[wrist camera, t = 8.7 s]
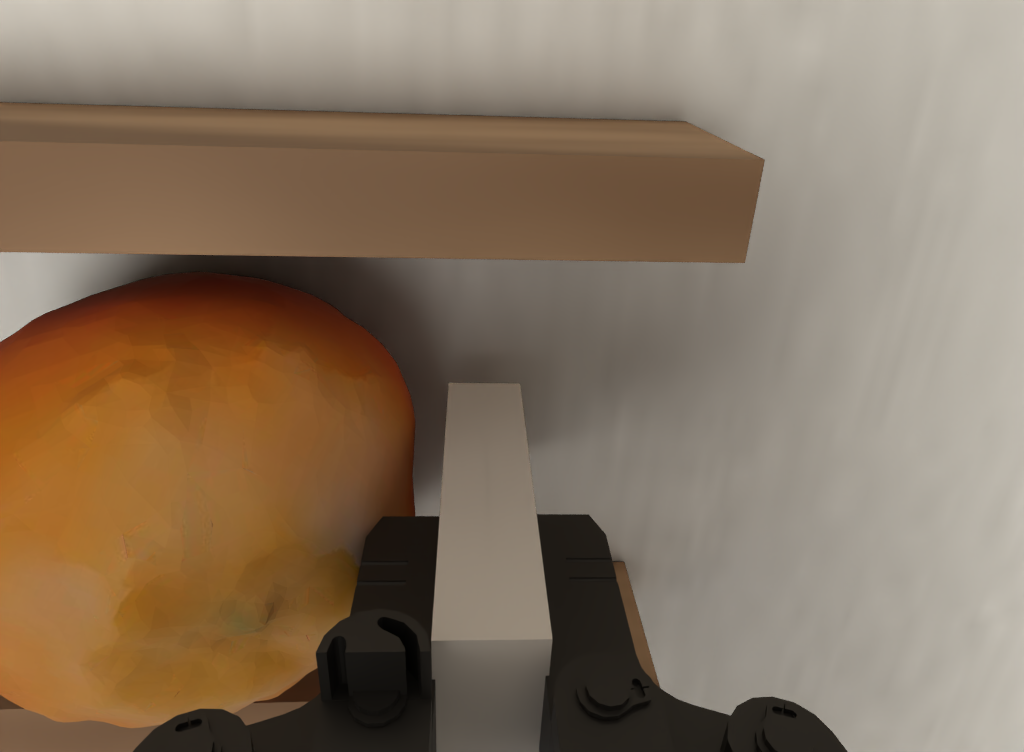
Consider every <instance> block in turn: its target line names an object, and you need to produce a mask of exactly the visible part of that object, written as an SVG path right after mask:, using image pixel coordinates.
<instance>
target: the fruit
mask: <svg viewBox="0 0 1024 752" xmlns="http://www.w3.org/2000/svg"><path fill="white" fill-rule="evenodd" d="M414 440H415V416H414V409H413V405H412V400H411V396H410V393H409V391H408V388H407V386H406V384H405V381H404V379H403V376H402V374H401V372H400V369H399V367H398V365H397V364H396V362H395V360H394V359H393V357H392V356H391V355H390V354H389V352H388V351H387V350H386V349H385V347H384V346H383V345H382V344H381V343H380V342H379V341H378V340H377V339H376V338H375V337H374V336H372V335H371V334H370V333H369V332H368V331H367V330H366V329H365V328H363V327H362V326H360V325H358V324H357V323H355V322H353V321H351V320H350V319H348V318H347V317H345V316H344V315H343V314H342V313H340V312H339V311H338V310H337V309H336V308H335V307H333V306H331V305H330V304H328V303H326V302H325V301H323V300H321V299H319V298H317V297H315V296H313V295H311V294H308V293H305V292H302V291H299V290H296V289H293V288H290V287H287V286H284V285H281V284H278V283H274V282H271V281H268V280H263V279H258V278H253V277H244V276H236V275H227V274H217V273H213V272H187V273H175V274H165V275H160V276H155V277H150V278H146V279H142V280H138V281H135V282H132V283H129V284H126V285H122V286H119V287H116V288H113V289H110V290H106V291H103V292H100V293H97V294H94V295H91V296H88V297H86V298H83V299H81V300H79V301H76V302H74V303H71V304H69V305H66V306H64V307H61V308H59V309H56V310H53V311H50V312H48V313H45V314H43V315H41V316H40V317H38V318H36V319H34V320H32V321H31V322H29V323H28V324H27V325H25V326H24V327H23V328H21V329H20V330H19V331H17V332H16V333H14V334H13V335H11V336H9V337H8V338H6V339H5V340H3V341H1V342H0V695H1V696H3V697H4V698H6V699H7V700H9V701H11V702H13V703H15V704H17V705H18V706H20V707H22V708H24V709H26V710H29V711H33V712H36V713H38V714H41V715H44V716H46V717H48V718H50V719H52V720H54V721H57V722H79V721H87V720H92V721H100V722H106V723H110V724H113V725H117V726H120V727H126V728H142V727H148V726H155V725H162V724H163V723H165V722H167V721H168V720H170V719H172V718H173V717H175V716H176V715H180V714H183V713H187V712H190V711H193V710H197V709H200V708H201V709H223V710H226V711H228V712H230V713H232V714H233V713H235V712H237V711H239V710H241V709H243V708H244V707H246V706H248V705H250V704H251V703H253V702H255V701H263V700H269V699H272V698H275V697H278V696H279V695H280V694H282V693H283V692H284V691H286V690H287V689H289V688H291V687H292V686H293V685H295V684H296V683H297V682H298V681H300V680H301V679H302V678H303V677H304V676H305V675H306V674H308V673H310V672H311V671H313V670H315V669H316V668H317V661H316V651H317V649H318V647H319V645H320V643H321V641H322V639H323V636H324V635H325V634H326V633H327V632H328V631H329V630H330V629H331V628H333V627H334V626H335V625H336V624H337V623H338V622H339V621H341V620H343V619H345V618H347V617H349V616H350V612H351V607H352V602H353V597H354V593H355V588H356V586H357V578H358V573H359V568H360V566H361V559H362V554H363V549H364V544H365V539H366V536H367V535H368V534H369V533H370V531H371V530H372V529H373V528H374V526H375V525H376V524H377V523H378V522H379V520H380V519H381V518H382V517H383V516H415V505H414V491H413V477H412V473H413V457H414Z"/></svg>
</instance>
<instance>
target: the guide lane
mask: <svg viewBox="0 0 1024 752" xmlns="http://www.w3.org/2000/svg"><path fill="white" fill-rule="evenodd" d="M764 161H765V160H764V159H762V158H760V157H758V156H756V155H754V154H752V153H749V152H747V151H745V150H743V149H741V148H739V147H737V146H735V145H733V144H731V143H729V142H727V141H725V140H723V139H721V138H719V137H717V136H714V135H712V134H710V133H708V132H706V131H704V130H702V129H700V128H698V127H696V126H694V125H692V124H690V123H688V122H683V121H648V120H612V119H577V118H541V117H505V116H470V115H434V114H398V113H363V112H327V111H291V110H256V109H220V108H184V107H149V106H113V105H78V104H42V103H6V102H0V252H45V253H112V254H179V255H246V256H313V257H380V258H447V259H514V260H580V261H647V262H714V263H745V259H746V254H747V249H748V243H749V238H750V233H751V228H752V223H753V218H754V212H755V207H756V202H757V197H758V192H759V187H760V182H761V176H762V171H763V166H764ZM612 563H613V565H614V569H615V573H616V577H617V578H616V580H617V582H618V585H619V589H620V593H621V597H622V601H623V604H624V608H625V612H626V616H627V620H628V624H629V628H630V632H631V636H632V640H633V644H634V648H635V651H636V655H637V657H638V660H639V662H640V665H641V667H642V669H643V670H644V671H645V673H646V674H647V675H649V676H650V677H651V679H652V681H653V682H654V683H655V684H656V685H657V686H658V687H659V688H660V686H659V683H658V679H657V676H656V672H655V669H654V665H653V662H652V658H651V654H650V651H649V647H648V644H647V640H646V637H645V633H644V630H643V626H642V623H641V619H640V616H639V612H638V609H637V605H636V602H635V598H634V595H633V591H632V588H631V584H630V581H629V577H628V573H627V570H626V566H625V563H624V562H612ZM319 693H321V692H320V684H319V676H318V668H316V669H315V670H313V671H311V672H310V673H308V674H306V675H305V676H304V677H303V678H302V679H301V680H300V681H298V682H297V683H296V684H295V685H293V686H292V687H291V688H289V689H287V690H286V691H284V692H283V693H282V694H280V695H279V696H278V697H275V698H272V699H269V700H263V701H255V702H253V703H251V704H250V705H248V706H246V707H244V708H243V709H241V710H239V711H237V712H235V713H233V714H234V715H237V716H239V717H240V718H241V719H242V721H243V722H244V724H245V725H246V726H247V725H250V724H254V723H257V722H260V721H263V720H266V719H270V718H273V717H276V716H279V715H283V714H285V713H288V712H290V711H292V710H295V709H297V708H300V707H301V706H303V705H305V704H306V703H308V702H309V701H311V700H312V699H314V698H315V697H316V696H317V695H318V694H319ZM158 726H160V725H155V726H148V727H142V728H126V727H120V726H117V725H113V724H110V723H106V722H100V721H92V720H87V721H79V722H57V721H54V720H52V719H50V718H48V717H46V716H44V715H41V714H38V713H36V712H33V711H29V710H26V709H24V708H22V707H20V706H18V705H17V704H15V703H13V702H11V701H9V700H7V699H6V698H4V697H3V696H1V695H0V752H133V751H134V750H135V748H136V747H137V746H138V745H139V744H140V743H141V742H142V741H143V740H144V739H145V738H146V737H147V736H148V735H149V734H150V733H151V732H152V731H153V730H154V729H155V728H157V727H158Z"/></svg>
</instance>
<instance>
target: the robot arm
mask: <svg viewBox="0 0 1024 752" xmlns="http://www.w3.org/2000/svg"><path fill="white" fill-rule="evenodd" d="M616 578H617V577H616V573H615V569H614V565H613V563H612V557H611V553H610V550H609V546H608V542H607V538H606V534H605V533H604V532H603V531H602V530H601V529H600V527H599V526H598V525H597V524H596V523H595V522H594V520H593V519H592V518H591V517H590V516H589V515H540V514H537V513H536V505H535V497H534V490H533V482H532V474H531V466H530V458H529V450H528V442H527V434H526V427H525V419H524V411H523V403H522V395H521V387H520V384H516V383H449V385H448V400H447V415H446V430H445V444H444V459H443V474H442V489H441V503H440V516H383V517H382V518H381V519H380V520H379V522H378V523H377V524H376V525H375V526H374V528H373V529H372V530H371V531H370V533H369V534H368V535H367V536H366V539H365V544H364V549H363V554H362V559H361V566H360V568H359V573H358V578H357V586H356V588H355V593H354V597H353V602H352V607H351V612H350V616H349V617H347V618H345V619H343V620H341V621H339V622H338V623H337V624H336V625H335V626H334V627H333V628H331V629H330V630H329V631H328V632H327V633H326V634H325V635H324V636H323V639H322V641H321V643H320V645H319V647H318V649H317V651H316V661H317V668H318V676H319V684H320V692H321V693H319V694H318V695H317V696H316V697H315V698H314V699H312V700H311V701H309V702H308V703H306V704H305V705H303V706H301V707H300V708H297V709H295V710H292V711H290V712H288V713H285V714H283V715H279V716H276V717H273V718H270V719H266V720H263V721H260V722H257V723H254V724H250V725H247V726H246V725H245V724H244V722H243V721H242V719H241V718H240V717H239V716H237V715H234V714H232V713H230V712H228V711H226V710H223V709H201V708H200V709H197V710H193V711H190V712H187V713H183V714H180V715H176V716H175V717H173V718H172V719H170V720H168V721H167V722H165V723H163V724H162V725H160V726H158V727H157V728H155V729H154V730H153V731H152V732H151V733H150V734H149V735H148V736H147V737H146V738H145V739H144V740H143V741H142V742H141V743H140V744H139V745H138V746H137V747H136V748H135V750H134V751H133V752H847V750H846V749H845V748H844V746H843V745H842V744H841V743H840V741H839V740H838V739H837V737H836V736H835V735H834V733H833V732H832V731H831V730H830V729H829V728H828V727H827V726H826V725H825V724H824V723H823V722H822V721H821V720H820V719H819V718H818V717H817V716H816V715H814V714H813V713H811V712H809V711H808V710H806V709H804V708H803V707H801V706H799V705H797V704H796V703H794V702H790V701H786V700H783V699H779V698H775V697H759V698H751V699H749V700H747V701H746V702H744V703H742V704H740V705H738V706H737V707H736V709H735V710H734V712H733V713H732V715H731V716H730V715H726V714H723V713H719V712H716V711H712V710H708V709H705V708H701V707H698V706H694V705H691V704H689V703H686V702H683V701H681V700H678V699H676V698H674V697H673V696H671V695H669V694H668V693H666V692H665V691H663V690H662V689H660V688H659V687H658V686H657V685H656V684H655V683H654V682H653V681H652V679H651V677H650V676H649V675H647V674H646V673H645V671H644V670H643V669H642V667H641V665H640V662H639V660H638V657H637V655H636V651H635V648H634V644H633V640H632V636H631V632H630V628H629V624H628V620H627V616H626V612H625V608H624V604H623V601H622V597H621V593H620V589H619V585H618V582H617V580H616Z"/></svg>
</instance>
